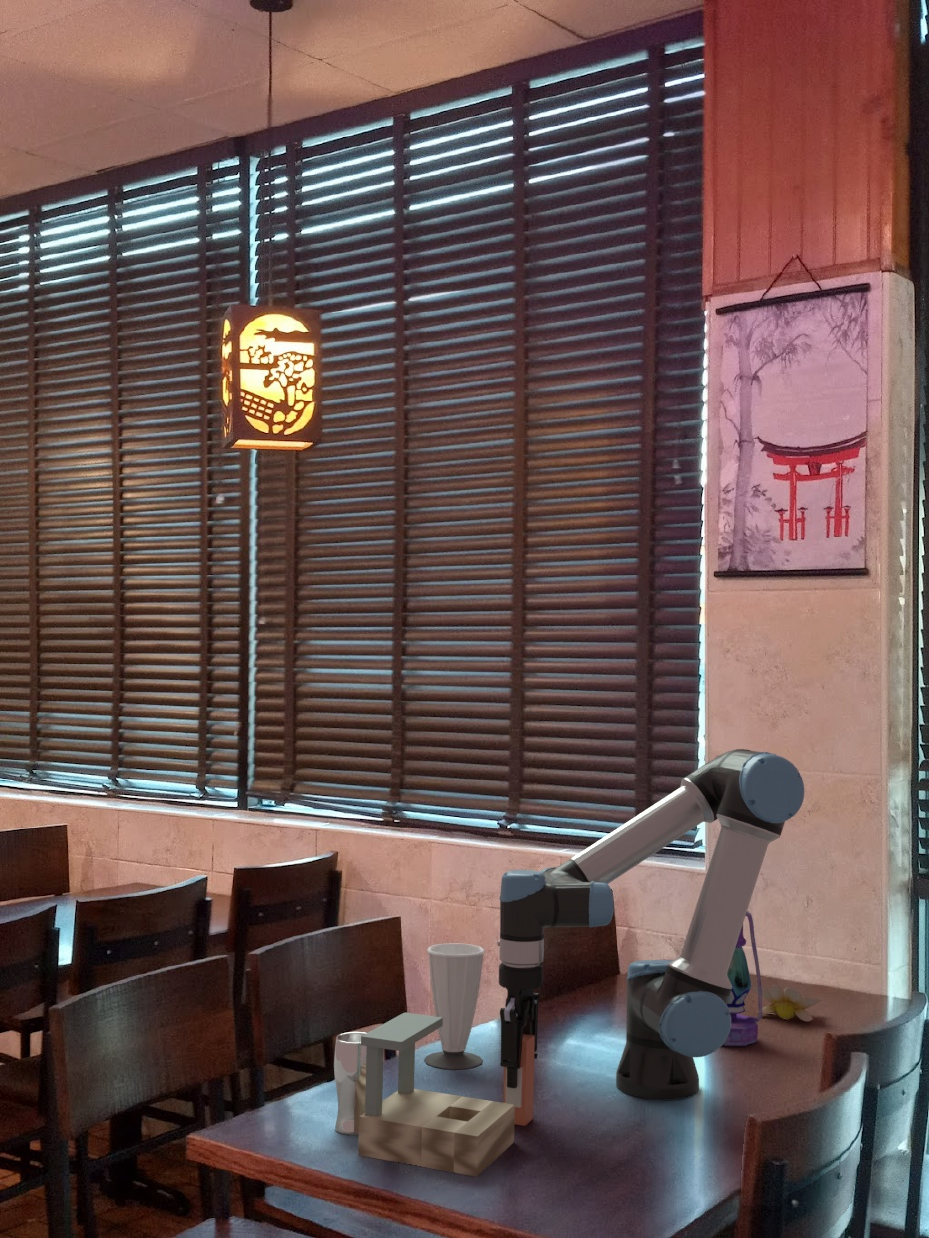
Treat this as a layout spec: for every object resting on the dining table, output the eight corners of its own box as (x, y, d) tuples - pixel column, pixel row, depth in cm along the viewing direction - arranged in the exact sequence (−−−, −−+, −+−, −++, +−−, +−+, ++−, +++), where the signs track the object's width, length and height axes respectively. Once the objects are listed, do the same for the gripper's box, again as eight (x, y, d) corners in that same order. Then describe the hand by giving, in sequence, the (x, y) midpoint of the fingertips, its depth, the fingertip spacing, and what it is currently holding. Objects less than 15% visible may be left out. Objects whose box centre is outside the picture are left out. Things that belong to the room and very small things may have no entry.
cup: (490, 1056, 259) (492, 945, 260) (471, 1072, 248) (474, 957, 249) (435, 1049, 263) (438, 940, 264) (415, 1065, 252) (417, 952, 253)
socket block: (513, 1142, 212) (514, 1104, 213) (476, 1176, 198) (477, 1136, 198) (402, 1123, 220) (402, 1086, 220) (358, 1155, 205) (359, 1116, 206)
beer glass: (332, 1121, 220) (335, 1031, 221) (374, 1121, 221) (376, 1031, 221) (332, 1136, 213) (334, 1043, 214) (375, 1136, 214) (377, 1043, 214)
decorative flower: (835, 1009, 294) (829, 967, 293) (819, 1032, 285) (812, 988, 284) (771, 1003, 303) (764, 962, 301) (753, 1025, 293) (747, 983, 292)
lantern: (692, 1043, 271) (694, 897, 272) (703, 1029, 282) (705, 888, 283) (757, 1051, 266) (759, 902, 267) (766, 1037, 277) (768, 894, 278)
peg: (533, 1118, 224) (534, 1035, 224) (525, 1125, 220) (526, 1041, 221) (511, 1114, 225) (512, 1032, 226) (502, 1122, 222) (504, 1038, 222)
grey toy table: (441, 1092, 218) (442, 1017, 218) (399, 1123, 203) (401, 1041, 203) (402, 1086, 220) (404, 1012, 221) (359, 1116, 206) (361, 1036, 206)
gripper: (517, 950, 233) (515, 1084, 232) (481, 970, 217) (479, 1113, 216) (557, 955, 230) (555, 1090, 229) (524, 975, 214) (521, 1120, 214)
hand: (518, 1101), depth 223 cm, fingers closed on peg, 4 cm apart
